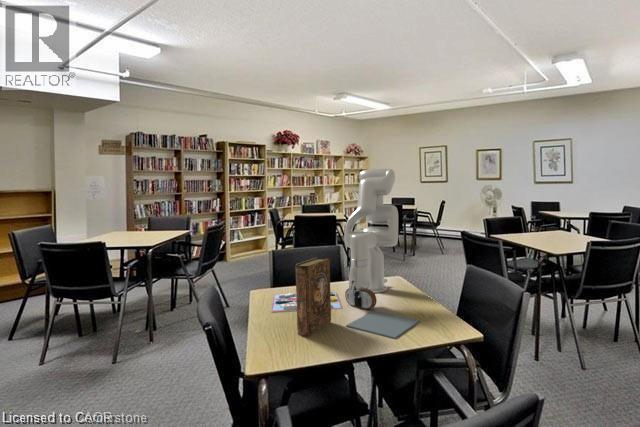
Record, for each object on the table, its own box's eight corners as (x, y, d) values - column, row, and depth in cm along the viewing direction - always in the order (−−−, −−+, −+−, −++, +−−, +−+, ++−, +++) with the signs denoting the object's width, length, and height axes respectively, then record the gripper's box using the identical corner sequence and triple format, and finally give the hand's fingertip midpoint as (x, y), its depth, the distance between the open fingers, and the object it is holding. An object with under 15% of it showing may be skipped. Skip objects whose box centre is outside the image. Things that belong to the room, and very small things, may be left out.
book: (308, 337, 132) (306, 266, 130) (295, 334, 134) (293, 265, 133) (331, 322, 146) (329, 258, 144) (319, 320, 149) (317, 257, 147)
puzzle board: (271, 314, 159) (270, 308, 159) (273, 298, 182) (273, 292, 182) (342, 310, 161) (342, 304, 161) (336, 295, 184) (336, 289, 184)
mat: (374, 311, 156) (374, 310, 156) (419, 321, 144) (419, 320, 144) (346, 326, 141) (346, 325, 141) (395, 339, 128) (395, 337, 128)
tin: (377, 309, 159) (376, 290, 158) (372, 311, 156) (372, 291, 156) (348, 303, 169) (348, 284, 168) (344, 304, 166) (343, 285, 166)
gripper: (362, 258, 170) (363, 299, 171) (341, 265, 157) (342, 308, 159) (376, 260, 165) (377, 301, 167) (356, 267, 153) (357, 312, 154)
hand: (360, 304), depth 163 cm, fingers closed on tin, 2 cm apart
